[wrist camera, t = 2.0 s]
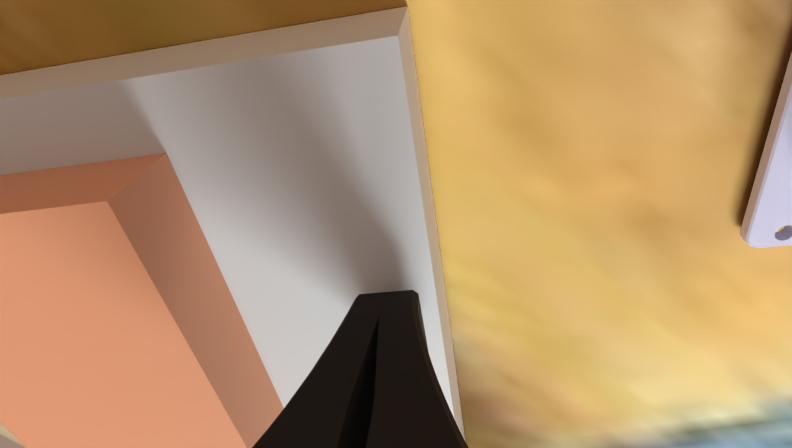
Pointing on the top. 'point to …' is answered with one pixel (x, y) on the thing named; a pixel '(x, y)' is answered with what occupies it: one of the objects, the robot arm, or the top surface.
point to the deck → (269, 168)
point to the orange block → (120, 316)
